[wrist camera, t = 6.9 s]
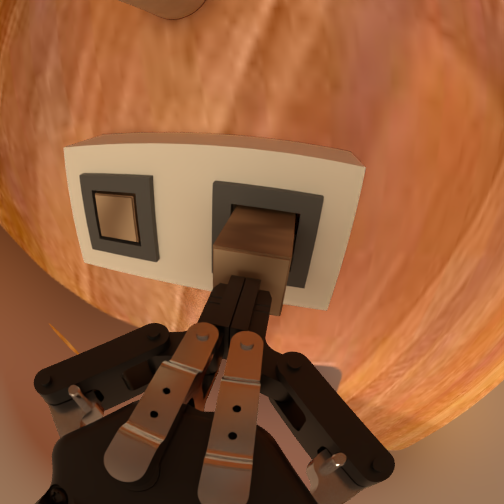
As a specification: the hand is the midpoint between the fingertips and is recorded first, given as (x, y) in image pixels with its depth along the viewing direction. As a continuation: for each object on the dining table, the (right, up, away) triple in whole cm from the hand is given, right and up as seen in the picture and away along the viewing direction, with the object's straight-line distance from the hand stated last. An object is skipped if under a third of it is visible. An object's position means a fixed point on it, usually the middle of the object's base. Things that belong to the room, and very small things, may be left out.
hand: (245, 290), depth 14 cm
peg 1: (-10, +8, +12) cm, 17 cm away
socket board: (-4, +7, +11) cm, 14 cm away
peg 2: (+1, +4, +6) cm, 7 cm away
